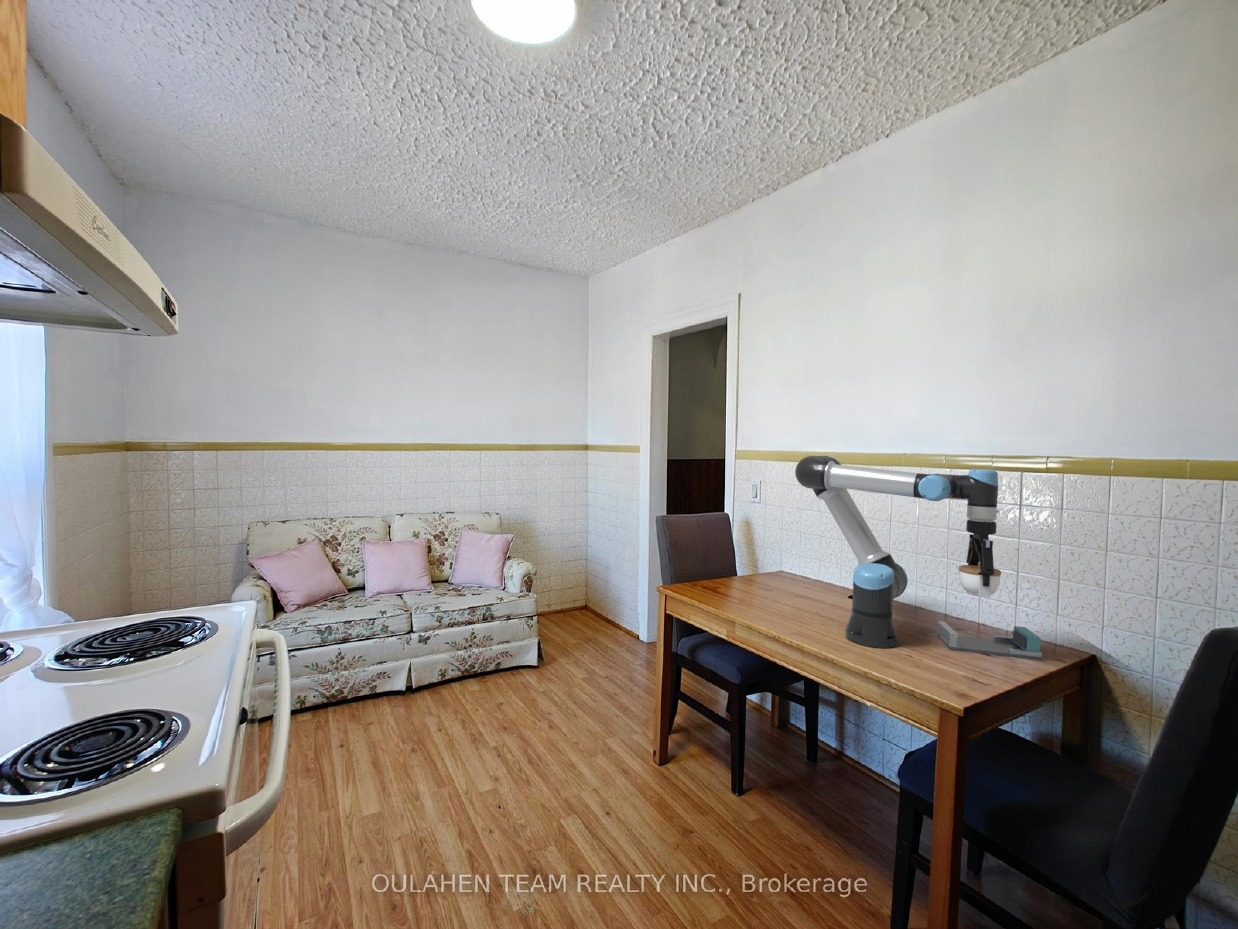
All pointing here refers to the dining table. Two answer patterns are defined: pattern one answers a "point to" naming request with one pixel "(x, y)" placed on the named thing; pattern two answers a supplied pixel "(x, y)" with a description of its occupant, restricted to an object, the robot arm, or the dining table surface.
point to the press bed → (983, 644)
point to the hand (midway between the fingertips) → (978, 592)
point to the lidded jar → (976, 579)
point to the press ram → (1026, 639)
